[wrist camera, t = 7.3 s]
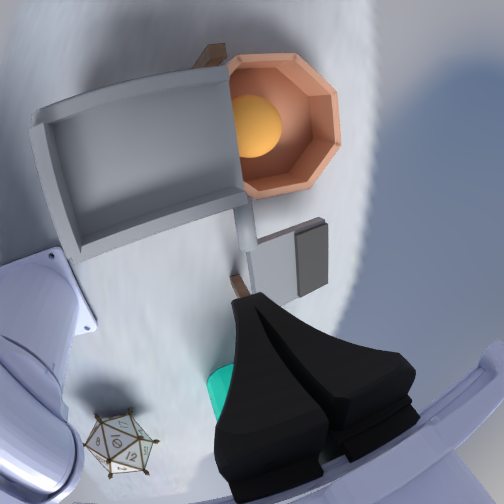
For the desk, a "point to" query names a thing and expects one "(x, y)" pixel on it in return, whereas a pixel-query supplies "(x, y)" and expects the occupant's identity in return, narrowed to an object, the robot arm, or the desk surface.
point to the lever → (162, 175)
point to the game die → (120, 444)
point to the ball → (255, 125)
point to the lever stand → (209, 59)
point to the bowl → (288, 121)
